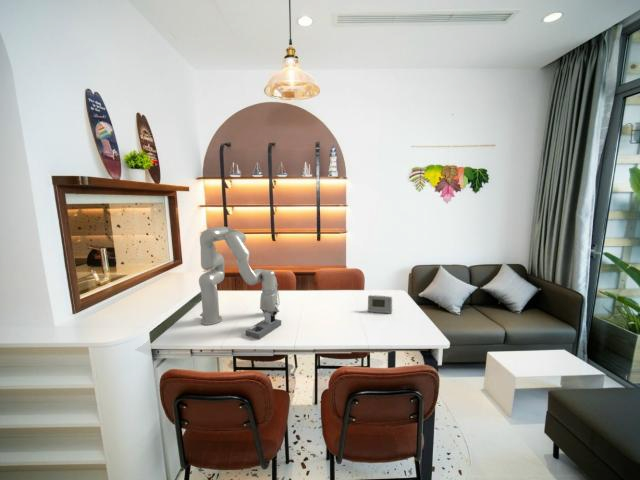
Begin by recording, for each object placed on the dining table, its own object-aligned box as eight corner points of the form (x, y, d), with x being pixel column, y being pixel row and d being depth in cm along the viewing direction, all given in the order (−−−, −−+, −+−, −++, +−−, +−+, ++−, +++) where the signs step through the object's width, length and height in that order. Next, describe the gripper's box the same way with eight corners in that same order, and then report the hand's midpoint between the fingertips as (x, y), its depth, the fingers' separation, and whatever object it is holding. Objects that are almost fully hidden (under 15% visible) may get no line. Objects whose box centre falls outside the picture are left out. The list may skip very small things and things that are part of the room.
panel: (245, 335, 153) (245, 330, 153) (268, 321, 171) (267, 316, 170) (259, 339, 148) (259, 333, 148) (281, 324, 166) (281, 319, 166)
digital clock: (366, 312, 185) (366, 296, 183) (369, 307, 193) (370, 292, 191) (391, 315, 178) (391, 300, 177) (393, 310, 186) (393, 295, 185)
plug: (265, 326, 164) (264, 311, 162) (269, 324, 167) (268, 309, 166) (270, 328, 162) (270, 312, 160) (274, 325, 165) (274, 310, 164)
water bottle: (269, 317, 178) (268, 279, 174) (264, 313, 184) (263, 277, 181) (282, 313, 183) (281, 277, 180) (276, 310, 189) (275, 274, 186)
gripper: (253, 291, 162) (254, 320, 164) (276, 295, 154) (277, 325, 157) (261, 287, 169) (262, 315, 171) (284, 291, 161) (285, 320, 163)
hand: (269, 320), depth 164 cm, fingers closed on plug, 4 cm apart
